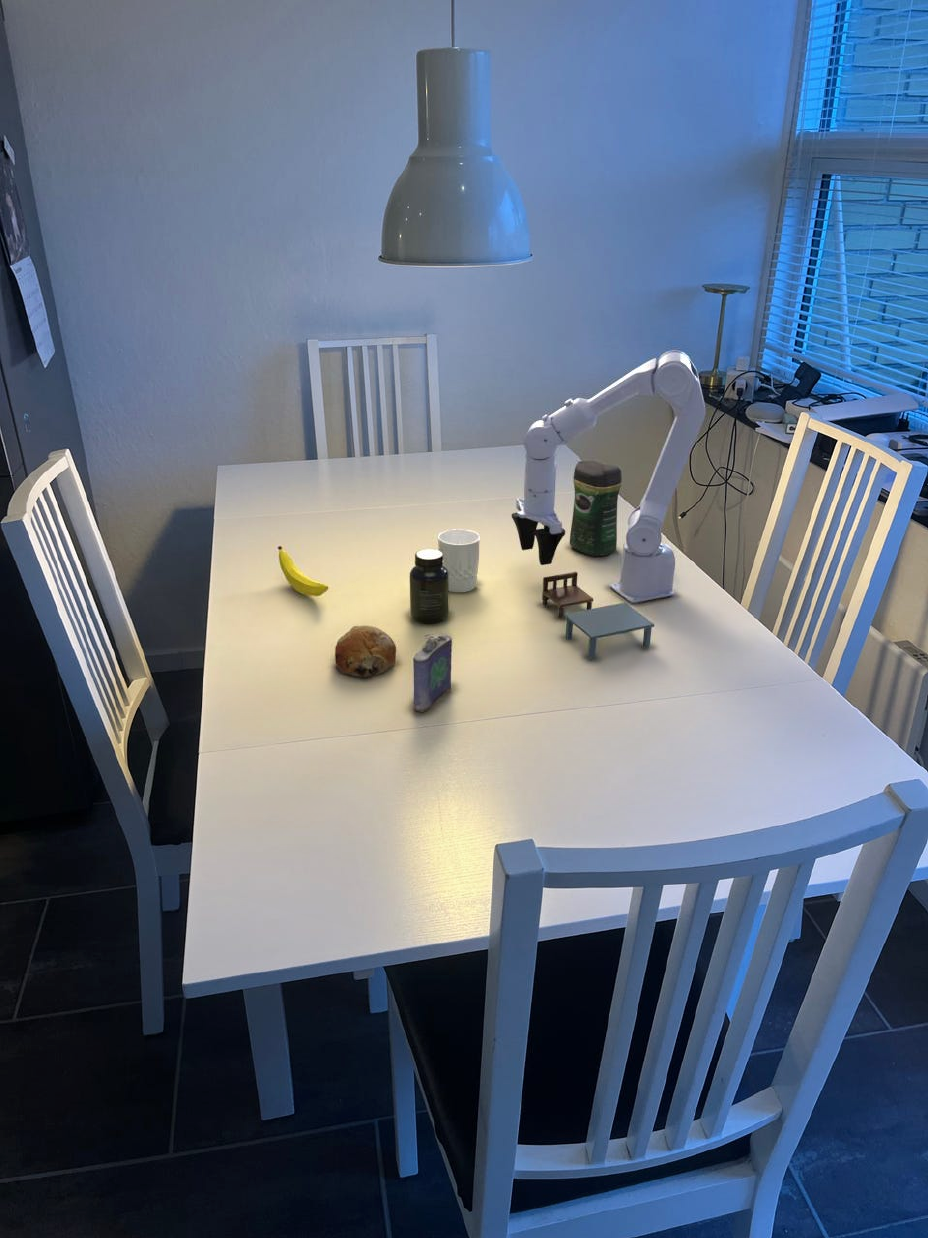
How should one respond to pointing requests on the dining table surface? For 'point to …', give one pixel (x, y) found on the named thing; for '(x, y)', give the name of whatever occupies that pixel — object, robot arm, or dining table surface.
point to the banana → (299, 577)
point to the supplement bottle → (429, 588)
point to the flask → (432, 671)
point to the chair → (565, 593)
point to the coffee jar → (595, 507)
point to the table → (608, 624)
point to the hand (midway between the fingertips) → (536, 556)
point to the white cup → (460, 558)
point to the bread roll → (365, 651)
